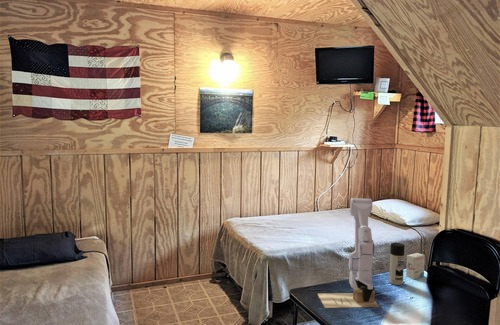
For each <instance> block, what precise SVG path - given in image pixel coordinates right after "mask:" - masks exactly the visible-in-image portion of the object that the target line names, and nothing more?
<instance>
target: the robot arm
mask: <svg viewBox="0 0 500 325" xmlns="http://www.w3.org/2000/svg"><path fill="white" fill-rule="evenodd" d="M349 203H350V206H349V208H350V210H349V213H350V216H352V217H353V218H354V251H352V252H351V253H350V254H349V256H348V270H349V273H348V274H349V278H348V284H349V285H350V287H351V289H354V288H361V289H362V292H363V300H364V302H369V299H370V296H371V294H372V292H373V290H374V291H375V287H374V284H373V279H372V276H373V275H372V274H373V261H374V260H373V256H375V253H376V252H375V250H376V248H375V242H374V240H373V236H372V234H373V233H372V228H370V227H369V217H370V216H371V213H372V210H373V200H372V199H371V198H358V197H357V198H356V197H351V198H350V202H349Z"/></svg>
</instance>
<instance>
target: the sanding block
mask: <svg viewBox="0 0 500 325" xmlns="http://www.w3.org/2000/svg"><path fill="white" fill-rule="evenodd" d="M352 293H353V299H354V300H355V302H356V303H374V301H376V300H375V295H376V291H375V289H374V290H373V292H372V294H371V296H370V299H369V302H364V300H363V292H362V289H361V288H353V292H352Z"/></svg>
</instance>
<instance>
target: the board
mask: <svg viewBox="0 0 500 325" xmlns="http://www.w3.org/2000/svg"><path fill="white" fill-rule="evenodd" d="M317 296H318V298H319V299H320V302H321V303H322V305H323V307H324V309H326V308H327V309H328V308H332V309H333V308H379V307H381V306H380V305H379V304H378V303H377V301H376V300H374V303H356V302H355V300H354V299H353V292H349V293H347V292H346V293H345V292H343V293H342V292H336V293H334V292H333V293H332V292H331V293H330V292H329V293H324V292H322V293H317Z"/></svg>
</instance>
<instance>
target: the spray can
mask: <svg viewBox="0 0 500 325" xmlns="http://www.w3.org/2000/svg"><path fill="white" fill-rule="evenodd" d="M405 247H406V246H405V244H403V243H401V242H397V241H396V242H391V243H390V250H389V251H390V252H389V269H388V270H389V271H388V272H389V273H388V274H389V275H388V282H389V283H390V284H391V285H394V286H401V285H403V283H404V271H405V270H404V269H405V268H404V266H405V265H404V264H405Z"/></svg>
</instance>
